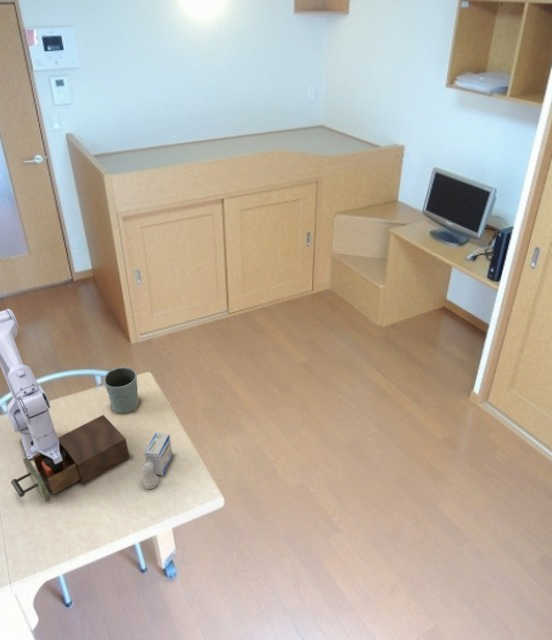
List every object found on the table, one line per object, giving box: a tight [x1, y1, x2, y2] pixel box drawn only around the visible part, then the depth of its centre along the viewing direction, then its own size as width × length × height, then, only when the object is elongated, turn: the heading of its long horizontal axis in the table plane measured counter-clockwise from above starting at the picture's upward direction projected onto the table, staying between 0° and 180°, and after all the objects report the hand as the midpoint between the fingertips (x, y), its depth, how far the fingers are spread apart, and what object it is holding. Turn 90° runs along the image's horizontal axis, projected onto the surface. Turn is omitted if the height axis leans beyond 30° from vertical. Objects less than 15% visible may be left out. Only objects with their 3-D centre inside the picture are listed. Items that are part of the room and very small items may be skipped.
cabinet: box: [57, 414, 130, 485], centre depth 152 cm, size 14×13×8 cm
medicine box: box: [144, 432, 173, 476], centre depth 150 cm, size 8×4×9 cm, turn 168°
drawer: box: [10, 443, 81, 502], centre depth 145 cm, size 18×12×6 cm, turn 133°
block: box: [41, 461, 66, 478], centre depth 145 cm, size 4×4×5 cm
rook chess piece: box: [140, 459, 160, 490], centre depth 144 cm, size 4×4×8 cm
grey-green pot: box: [103, 366, 140, 415], centre depth 170 cm, size 10×10×12 cm
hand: (53, 465), depth 145 cm, fingers open, 6 cm apart
